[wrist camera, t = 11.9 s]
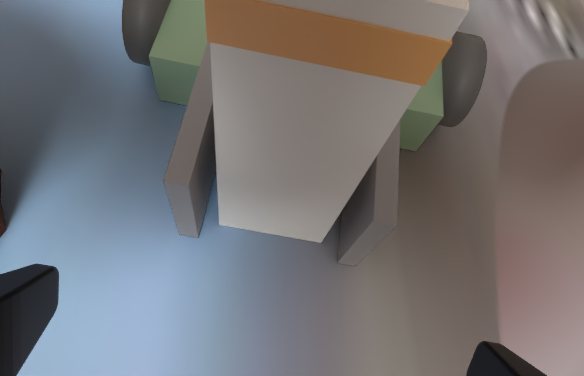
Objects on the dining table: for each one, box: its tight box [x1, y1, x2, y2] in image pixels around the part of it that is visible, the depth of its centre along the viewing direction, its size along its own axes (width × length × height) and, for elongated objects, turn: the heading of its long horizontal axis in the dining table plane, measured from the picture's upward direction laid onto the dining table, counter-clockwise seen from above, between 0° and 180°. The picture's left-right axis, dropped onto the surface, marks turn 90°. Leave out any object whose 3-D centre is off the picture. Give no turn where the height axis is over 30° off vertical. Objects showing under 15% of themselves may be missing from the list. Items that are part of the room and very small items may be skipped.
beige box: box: [204, 0, 469, 243], centre depth 14 cm, size 5×5×12 cm
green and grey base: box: [122, 0, 487, 266], centre depth 20 cm, size 22×16×5 cm
